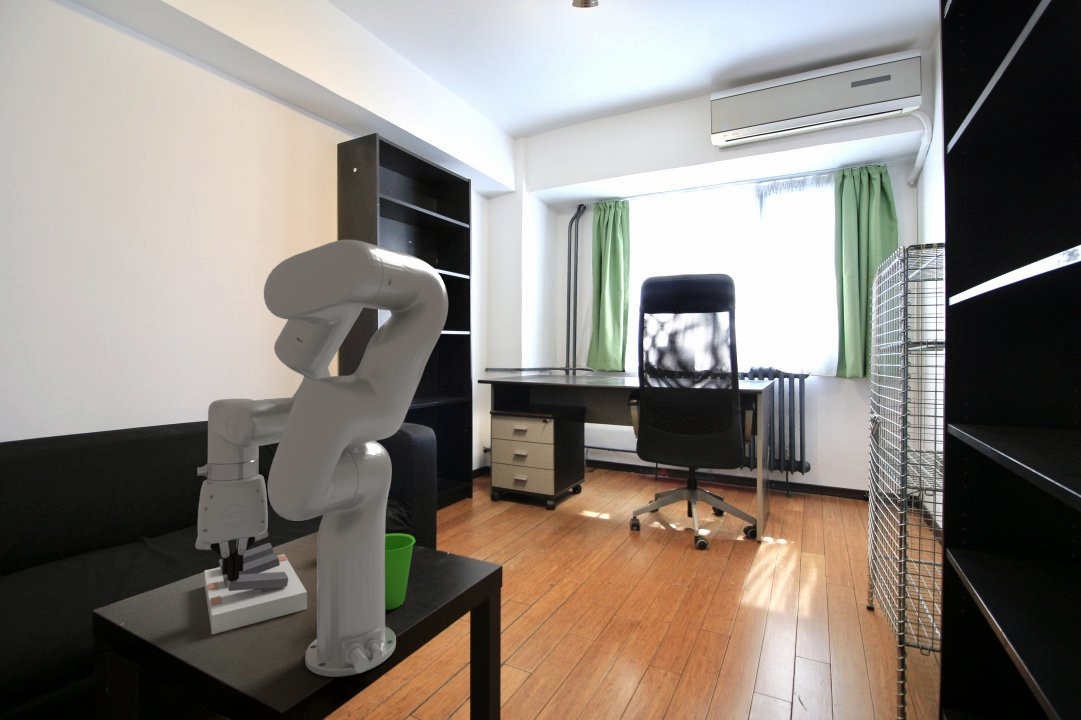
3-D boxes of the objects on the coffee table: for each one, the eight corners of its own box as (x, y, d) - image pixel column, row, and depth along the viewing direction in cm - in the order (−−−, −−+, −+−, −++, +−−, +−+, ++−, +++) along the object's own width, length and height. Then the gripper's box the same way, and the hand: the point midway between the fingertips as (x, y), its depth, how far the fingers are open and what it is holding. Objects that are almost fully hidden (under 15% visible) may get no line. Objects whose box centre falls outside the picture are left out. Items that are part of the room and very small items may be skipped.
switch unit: (306, 609, 89) (306, 587, 89) (211, 634, 81) (211, 611, 81) (284, 568, 107) (284, 550, 107) (204, 586, 98) (204, 566, 98)
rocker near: (286, 586, 90) (288, 578, 90) (228, 591, 85) (230, 582, 85) (283, 579, 93) (284, 571, 93) (226, 583, 88) (228, 575, 88)
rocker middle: (279, 565, 96) (278, 558, 96) (224, 585, 91) (223, 578, 91) (276, 559, 99) (275, 552, 99) (223, 579, 94) (221, 571, 93)
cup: (426, 599, 92) (426, 538, 92) (387, 620, 85) (386, 554, 85) (392, 587, 97) (392, 530, 97) (352, 607, 89) (352, 544, 90)
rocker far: (273, 554, 102) (272, 547, 101) (221, 572, 96) (220, 565, 96) (271, 548, 104) (269, 542, 104) (220, 566, 99) (218, 560, 99)
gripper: (180, 480, 80) (179, 597, 80) (285, 469, 89) (284, 574, 89) (180, 472, 86) (179, 580, 86) (278, 462, 95) (277, 560, 95)
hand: (232, 576), depth 87 cm, fingers closed
